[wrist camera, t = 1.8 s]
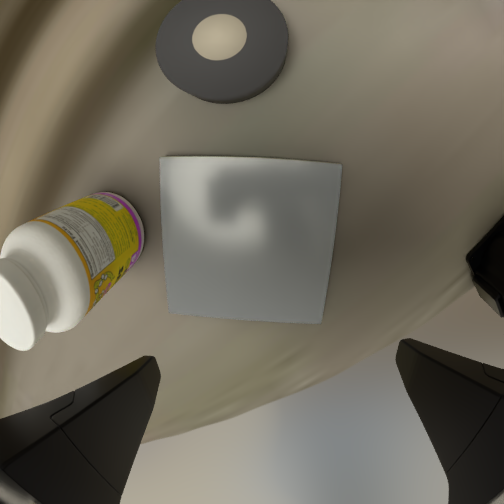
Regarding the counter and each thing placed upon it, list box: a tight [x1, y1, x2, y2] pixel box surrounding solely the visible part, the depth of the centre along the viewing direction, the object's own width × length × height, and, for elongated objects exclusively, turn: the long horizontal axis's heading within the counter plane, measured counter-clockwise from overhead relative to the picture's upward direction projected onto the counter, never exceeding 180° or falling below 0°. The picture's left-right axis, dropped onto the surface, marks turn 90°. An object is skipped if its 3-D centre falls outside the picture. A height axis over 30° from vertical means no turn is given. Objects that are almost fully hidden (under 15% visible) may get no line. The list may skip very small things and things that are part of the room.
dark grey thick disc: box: [156, 0, 288, 104], centre depth 16 cm, size 8×8×3 cm
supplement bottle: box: [0, 192, 144, 351], centre depth 16 cm, size 7×7×13 cm
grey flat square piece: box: [160, 156, 342, 324], centre depth 21 cm, size 12×12×1 cm
